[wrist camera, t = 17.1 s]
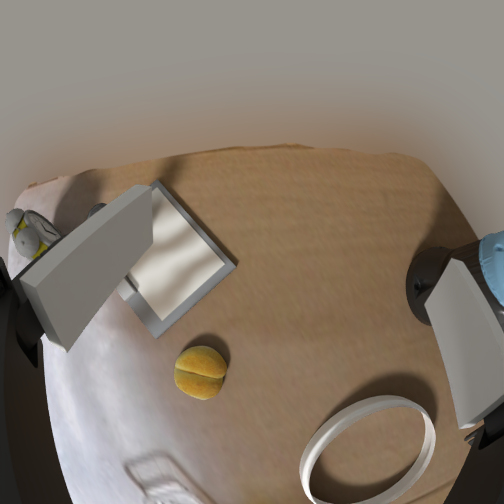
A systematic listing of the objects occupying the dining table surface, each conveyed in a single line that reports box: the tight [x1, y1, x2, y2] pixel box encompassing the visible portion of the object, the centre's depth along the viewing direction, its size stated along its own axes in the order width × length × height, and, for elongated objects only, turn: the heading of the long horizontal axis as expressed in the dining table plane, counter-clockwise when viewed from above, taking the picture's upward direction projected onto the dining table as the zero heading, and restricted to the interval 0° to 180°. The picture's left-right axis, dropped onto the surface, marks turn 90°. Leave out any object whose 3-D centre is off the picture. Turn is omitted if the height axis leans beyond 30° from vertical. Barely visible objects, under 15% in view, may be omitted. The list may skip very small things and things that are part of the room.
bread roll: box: [174, 346, 227, 400], centre depth 40 cm, size 8×9×4 cm
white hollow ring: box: [300, 395, 435, 504], centre depth 36 cm, size 27×27×6 cm
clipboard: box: [116, 179, 236, 339], centre depth 45 cm, size 22×18×2 cm
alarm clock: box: [5, 208, 63, 262], centre depth 39 cm, size 12×7×15 cm, turn 50°
